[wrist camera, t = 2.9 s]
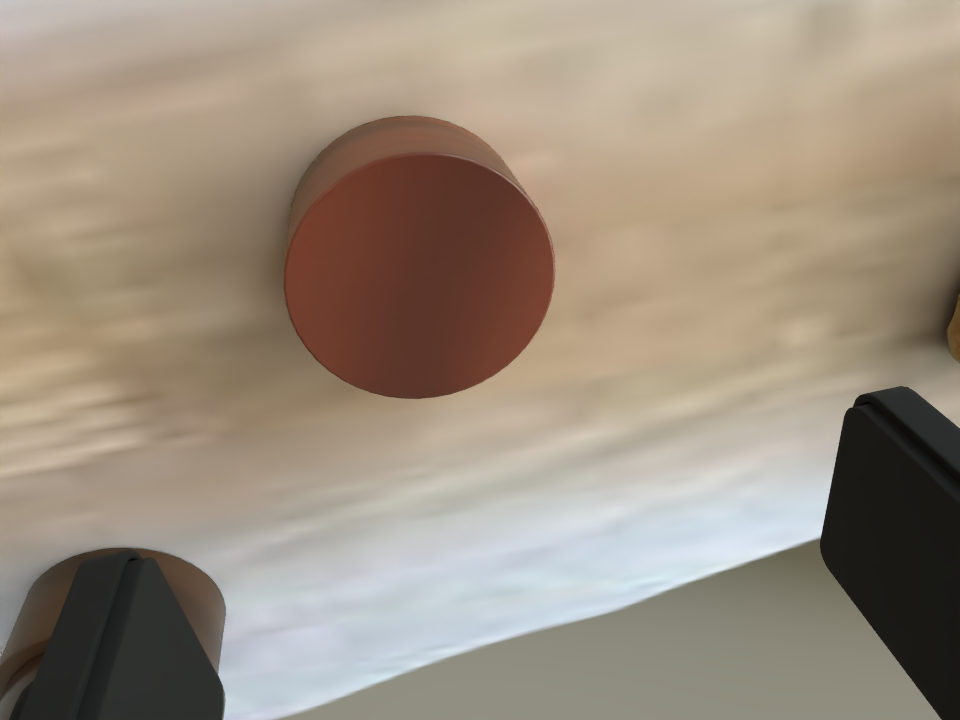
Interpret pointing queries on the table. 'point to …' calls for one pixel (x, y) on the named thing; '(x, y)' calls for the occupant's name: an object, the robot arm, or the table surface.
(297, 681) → the table surface
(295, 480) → the table surface
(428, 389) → the reddish-brown squat cylinder
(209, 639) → the stacked discs
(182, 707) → the robot arm
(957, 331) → the pastry
